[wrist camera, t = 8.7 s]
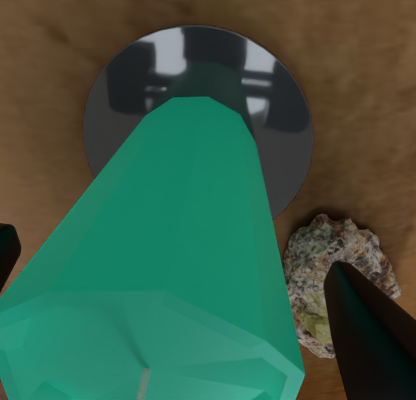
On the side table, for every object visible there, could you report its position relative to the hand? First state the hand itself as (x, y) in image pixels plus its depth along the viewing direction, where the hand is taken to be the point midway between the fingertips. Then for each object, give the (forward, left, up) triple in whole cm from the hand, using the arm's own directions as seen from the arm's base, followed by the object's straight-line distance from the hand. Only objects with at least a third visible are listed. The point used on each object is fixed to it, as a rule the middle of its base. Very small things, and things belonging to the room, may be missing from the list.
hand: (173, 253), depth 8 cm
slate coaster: (0, 0, -7) cm, 7 cm away
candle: (0, 0, -7) cm, 7 cm away
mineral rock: (-12, 0, -8) cm, 14 cm away
